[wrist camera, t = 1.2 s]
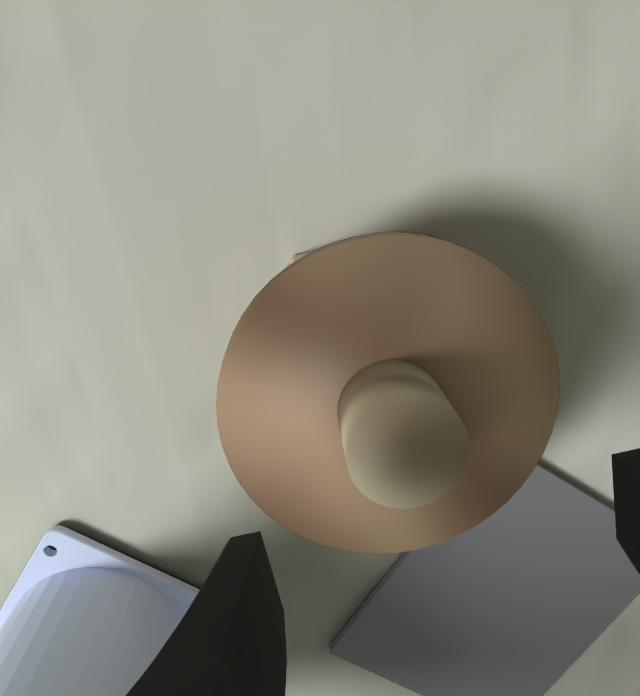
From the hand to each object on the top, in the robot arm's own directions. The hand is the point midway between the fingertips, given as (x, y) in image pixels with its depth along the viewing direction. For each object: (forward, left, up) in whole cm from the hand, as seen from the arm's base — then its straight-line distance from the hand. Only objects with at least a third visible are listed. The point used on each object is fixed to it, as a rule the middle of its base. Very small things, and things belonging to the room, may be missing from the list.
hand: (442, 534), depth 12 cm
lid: (0, 0, -7) cm, 7 cm away
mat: (-6, -11, -10) cm, 16 cm away
